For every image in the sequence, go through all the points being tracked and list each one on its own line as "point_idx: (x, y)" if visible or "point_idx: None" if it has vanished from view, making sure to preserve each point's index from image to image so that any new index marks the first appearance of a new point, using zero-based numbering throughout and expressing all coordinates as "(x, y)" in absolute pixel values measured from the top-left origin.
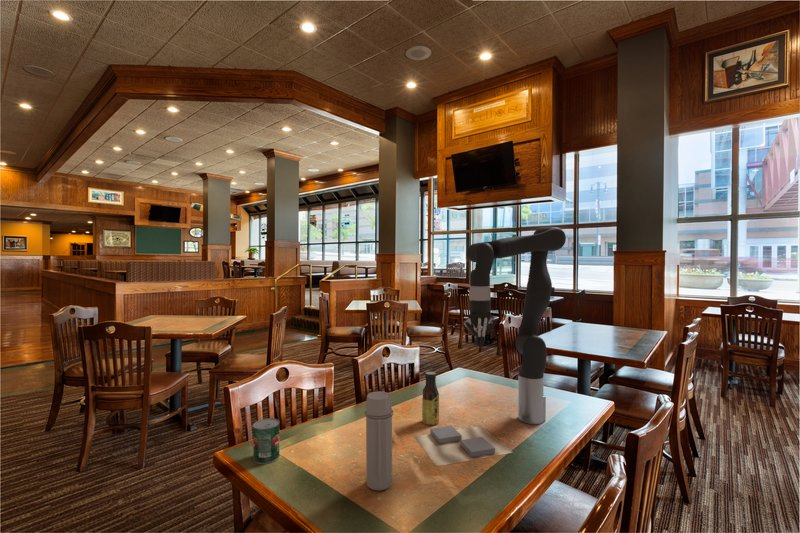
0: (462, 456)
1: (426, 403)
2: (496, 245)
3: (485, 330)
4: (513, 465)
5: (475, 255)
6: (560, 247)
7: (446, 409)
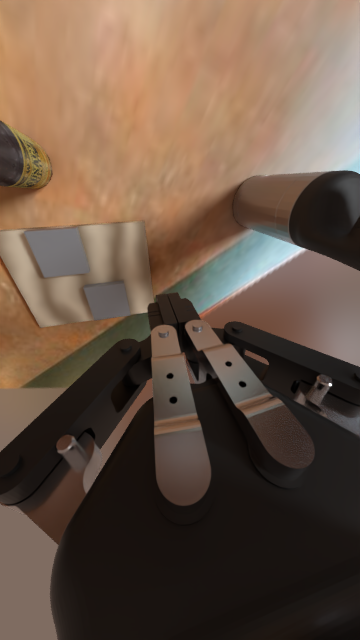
0: (82, 311)
1: None
2: None
3: (236, 350)
4: (146, 322)
5: None
6: None
7: (91, 35)
